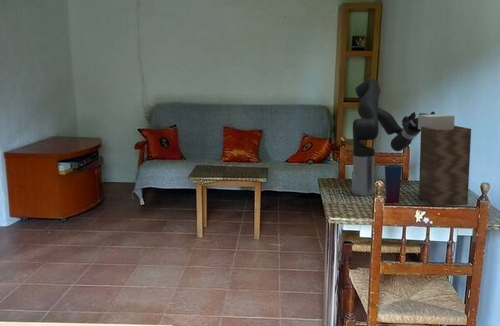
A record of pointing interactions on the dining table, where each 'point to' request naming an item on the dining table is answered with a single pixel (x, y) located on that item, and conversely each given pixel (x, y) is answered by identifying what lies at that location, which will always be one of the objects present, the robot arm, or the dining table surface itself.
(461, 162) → the cabinet
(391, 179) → the cup
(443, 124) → the caddy
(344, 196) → the dining table surface
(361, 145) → the robot arm
